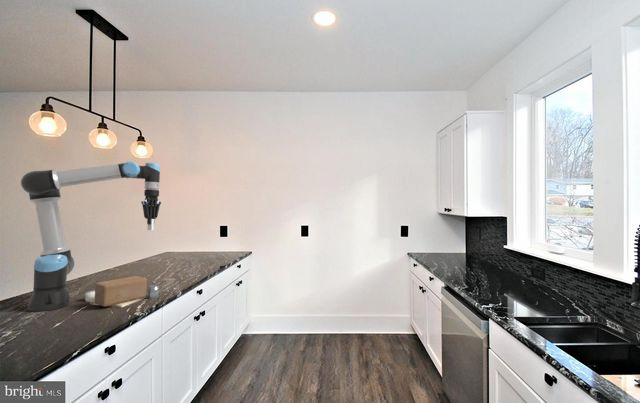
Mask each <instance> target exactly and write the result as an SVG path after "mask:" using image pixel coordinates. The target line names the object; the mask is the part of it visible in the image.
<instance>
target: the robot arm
mask: <svg viewBox="0 0 640 403" xmlns="http://www.w3.org/2000/svg"><path fill="white" fill-rule="evenodd" d="M160 175H161V166H160V164H159V163H155V162H146V163H145V165H139V164H138V163H137V162H134V161H127V162H123V163H122V162H121V163H116V164H115V163H114V164H108V165H105V164H104V165H99V166H98V165H97V166H91V167H84V168H83V167H81V168H76V169H75V168H74V169H67V170H59V171H58V170H55V169H47V170H33V171H29V172H26V173H25V174H24V175H23V176H22V178H21V179H20V185H21V188H22V190H24V191H25V192H26V193H27V194H28V195H29V200H30V202H31V203H34V205H35V211H36V216H37V221H38V222H37V223H38V226H39V232H40V238H41V242H42V248H43V249H42V250H43V251H42V252H41V253H40V257H39V256H38V257H37V258H36V259H35V261H34V264H33V290H32V291H33V292H32V294H31V297H30V298H29V301H28V303H27V307H26V308H27V309H26V310H27V311H29V312H45V311H46V312H47V311H51V310H57V309H61V308H64V307H67V306H69V305H70V304H71V296H70V294H69V292H68V289H67V281H68V280H67V278H68V277H67V276H68V275H69V274H70V273H71V272H72V271H73V270H74V267H75V260H74V257H73V256H72V252H71V249H70V248H69V247H67V246H66V241H65V235H64V229H63V224H62V217H61V212H60V207H59V203H58V202H59V200H60V199H61V198H62V197H61V192H60V190H61V188H65V187H72V186H77V185H83V184H90V183H98V182H103V181H104V182H105V181H112V180H118V179H141V180H144V191H143V192H144V193H143V194H144V196H145V198H144V200H143V201H141V206H142V211H143V216H144V218H145V220H146V224H147V231H154V224H155V220H156V219H157V218H158V216H159V211H160V206H161V204H162V202H161V201H159V198H158V197H159V196H160V190H159V189H160V179H161V178H160V177H161V176H160Z"/></svg>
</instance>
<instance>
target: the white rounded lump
mask: <svg viewBox="0 0 640 403" xmlns="http://www.w3.org/2000/svg"><path fill="white" fill-rule="evenodd" d="M84 300H85V302H87V303H90V302H92V301H95V290H90V291H86V292H85V298H84Z"/></svg>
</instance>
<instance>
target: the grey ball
mask: <svg viewBox="0 0 640 403" xmlns="http://www.w3.org/2000/svg"><path fill="white" fill-rule="evenodd" d="M159 293H160V284H152V285H149V286H147V299H148V300H156V299H158V298H159V296H160V294H159Z"/></svg>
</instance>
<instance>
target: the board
mask: <svg viewBox="0 0 640 403" xmlns="http://www.w3.org/2000/svg"><path fill="white" fill-rule="evenodd" d="M145 299H148V295H146V297H143V298H139V299H135V300H130V301H126V302H122V303H118V304H114V305H109V306H108V307H112V308H123V307H126V306H130V305H132V304H134V303H137V302H140V301H142V300H145ZM89 305H92V306H93V305H94V306H100V305H99V304H96V303H95V301H92V302H89Z"/></svg>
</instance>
